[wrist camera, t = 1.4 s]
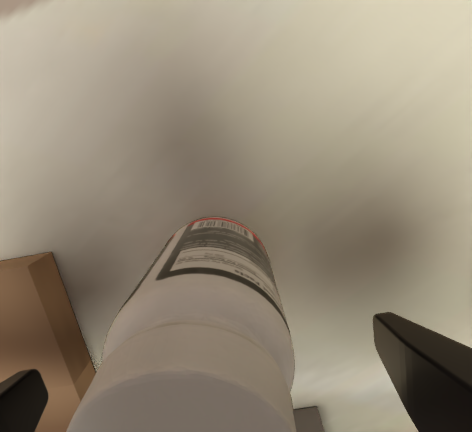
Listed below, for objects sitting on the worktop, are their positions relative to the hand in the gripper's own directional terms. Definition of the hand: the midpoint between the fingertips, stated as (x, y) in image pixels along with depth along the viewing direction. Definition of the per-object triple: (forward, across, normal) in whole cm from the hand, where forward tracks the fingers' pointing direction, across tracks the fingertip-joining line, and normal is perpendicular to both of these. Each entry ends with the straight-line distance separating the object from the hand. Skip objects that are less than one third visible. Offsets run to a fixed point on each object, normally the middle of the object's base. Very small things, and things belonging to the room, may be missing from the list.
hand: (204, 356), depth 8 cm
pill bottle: (+6, 0, 0) cm, 6 cm away
